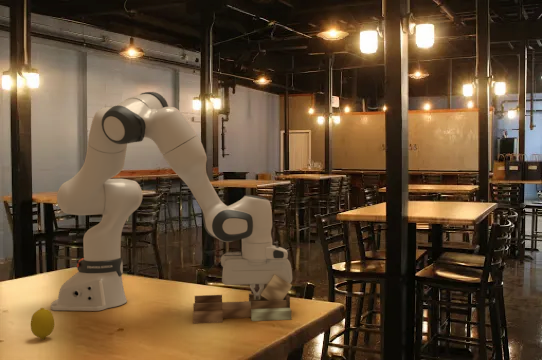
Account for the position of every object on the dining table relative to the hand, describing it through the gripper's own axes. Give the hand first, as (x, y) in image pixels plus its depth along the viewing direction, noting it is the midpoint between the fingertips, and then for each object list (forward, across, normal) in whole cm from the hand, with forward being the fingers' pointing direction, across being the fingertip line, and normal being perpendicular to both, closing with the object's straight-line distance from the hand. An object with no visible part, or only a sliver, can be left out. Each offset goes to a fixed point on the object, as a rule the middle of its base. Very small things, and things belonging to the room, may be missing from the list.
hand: (257, 299), depth 165 cm
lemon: (+5, -55, -17) cm, 58 cm away
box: (+4, +3, +23) cm, 24 cm away
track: (+4, -5, 0) cm, 6 cm away
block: (0, +3, 0) cm, 3 cm away
